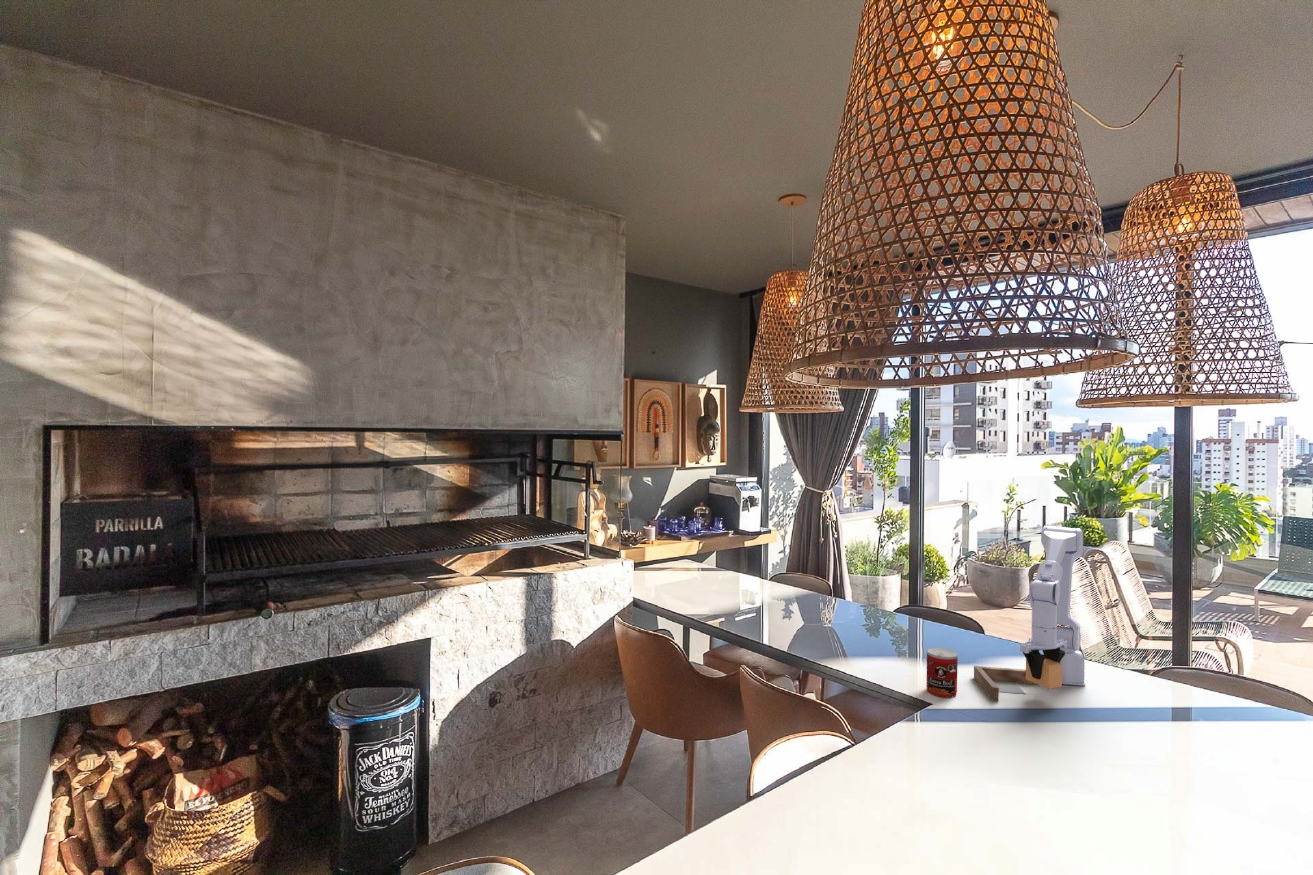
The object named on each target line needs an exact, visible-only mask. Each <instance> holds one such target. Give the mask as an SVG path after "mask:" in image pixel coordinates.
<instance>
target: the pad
mask: <svg viewBox="0 0 1313 875" xmlns="http://www.w3.org/2000/svg"><path fill="white" fill-rule="evenodd" d="M993 682H994V683H995V684H996V685H997V686H998V688H999V693H1005V694H1006V693H1009V694H1019V695H1026V694H1027V693H1026V692H1025V691H1024V690H1023V689H1022V688H1021V687H1020V685H1018V683H1012V682H999V681H993Z"/></svg>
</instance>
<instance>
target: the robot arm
mask: <svg viewBox="0 0 1313 875" xmlns="http://www.w3.org/2000/svg"><path fill="white" fill-rule="evenodd" d="M1040 536H1041V537H1040V540H1041V541H1040V542H1041V544H1042V547H1043V550H1044V551H1045V554H1046V555H1045V560H1043V561H1041V562H1040V563H1039V565H1038V569H1037V572H1036V575H1035V579H1034V580H1031V581H1030V582H1029V588H1028V592H1029V593H1028V595H1029V601H1030V604H1029V605H1030V608H1031V637H1030V638H1028V641H1026V642H1023V643H1020V644H1019V651H1020V653H1021V652H1022V654H1023V655H1024V657H1025V660H1026V659H1027V661H1028V664H1029V667H1030V671H1031V675H1032V677H1033V678H1036V679H1041V674H1042V666H1043V662H1044V659H1045V658H1047V659H1050V660H1053V661H1055V662H1058V663H1061V664H1062V685H1069V686H1070V685H1072V686H1084V687H1085V686H1086V682H1085V669H1086V668H1085V667H1086V666H1085V657H1084V655H1083V653H1082V651H1081V650H1080V648H1081V640H1082V635H1081V626H1080V624H1079V622H1078V621H1077V620H1076V619H1074V618H1073V617H1072V616H1071V615H1070V614H1071V613H1070V611H1071V598H1072V580H1073V565H1074V562H1075V560H1076V559H1079V558H1081V557H1082V555H1083V546H1084V531H1083V530H1082V529H1081V528H1080V527H1079V528H1076V527H1075V528H1073V527H1072V528H1071V527H1063V526H1062V527H1061V526H1051V525H1050V526H1049V525H1044V526H1043V527H1042V528H1041V534H1040ZM1067 626H1068V627H1067ZM1041 651H1042V653H1043V654H1041Z"/></svg>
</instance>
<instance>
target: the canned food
mask: <svg viewBox="0 0 1313 875" xmlns="http://www.w3.org/2000/svg"><path fill="white" fill-rule="evenodd" d="M958 660H959V659H958V652H956V651H954V650H951V649H949V648H943V647H931V648H928V649H927V651H926V691H927V693H928V694H930V695H932V696H935V697H938V698H943V699H944V698H946V699H947V698H949V699H950V698H954V697H956V695H957V693H958V665H959V663H958Z"/></svg>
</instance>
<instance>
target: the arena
mask: <svg viewBox="0 0 1313 875" xmlns="http://www.w3.org/2000/svg"><path fill="white" fill-rule="evenodd" d="M973 679H974V680H975V681H976V682H977V684H978V685H979V686H980V687H981V688H982V690H983V691H984V693H986V695H987V696H988V697H989V698H990V700H991V701H992V702H999V700H1000V699H999V697H1000V694H999V693H1000V692H999V688H998V686H997V685H996V684H995V683H994V682H993V681H999V682H1012V683H1016V684H1026V685H1036V686H1037V685H1038V686H1040V685H1039V684H1036V683H1034V682H1031V681H1029V680H1026V669H1022V668H1019V669H1018V668H1010V667H1009V668H1007V667H994V666H980V665H973Z"/></svg>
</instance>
